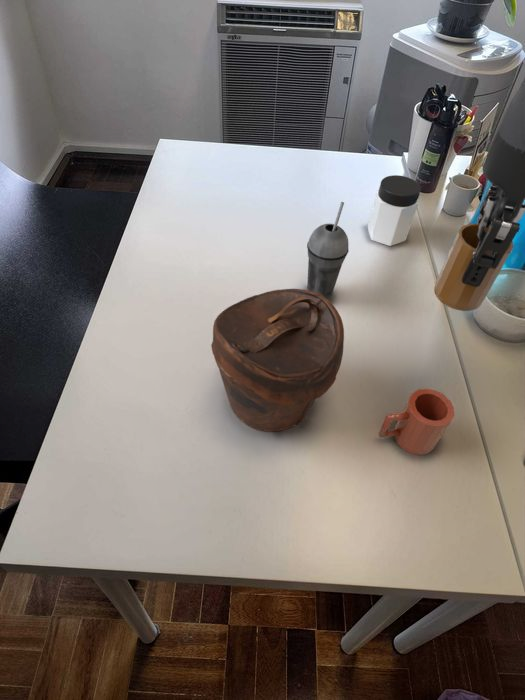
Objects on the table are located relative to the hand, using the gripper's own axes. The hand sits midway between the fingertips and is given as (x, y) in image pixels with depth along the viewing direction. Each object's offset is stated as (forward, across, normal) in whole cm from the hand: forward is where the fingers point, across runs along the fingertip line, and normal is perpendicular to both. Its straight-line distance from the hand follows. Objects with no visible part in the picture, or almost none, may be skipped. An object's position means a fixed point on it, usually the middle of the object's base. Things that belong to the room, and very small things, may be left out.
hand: (472, 266), depth 59 cm
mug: (+24, -11, 0) cm, 27 cm away
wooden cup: (+5, 0, 0) cm, 5 cm away
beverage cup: (+24, +13, +21) cm, 35 cm away
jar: (+24, +39, +13) cm, 48 cm away
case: (+25, -12, +21) cm, 34 cm away
